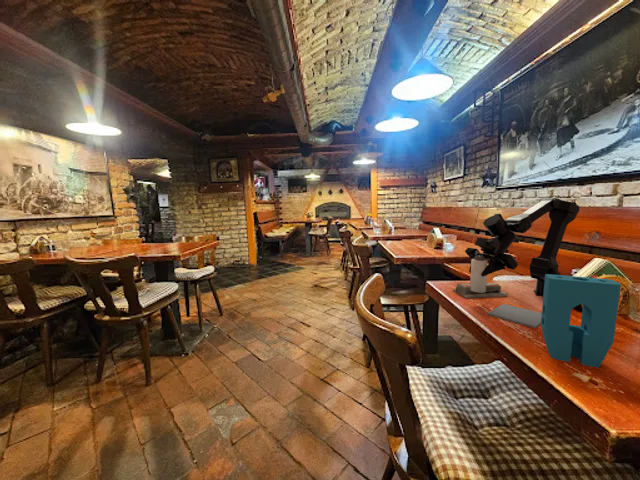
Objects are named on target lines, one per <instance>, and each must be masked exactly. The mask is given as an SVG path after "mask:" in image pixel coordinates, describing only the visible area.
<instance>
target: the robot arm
mask: <svg viewBox="0 0 640 480" xmlns="http://www.w3.org/2000/svg"><path fill="white" fill-rule="evenodd" d="M579 212H580V206H579V205H578V204H577V202H574V201H568V200H563V199H559V198H556V197H546V198H542V199H541V200H540V201H539V202H537V203H536V204H535V205H533V206H532V207H530V208H528V209H527V210H525V211H524V212H522V213H520V214H516V215H512V216H510V217H507V218H506V219H504V217H503V215H502V214H501V213H495V214H494V215H491V216H489V217H487V218H485V219H484V221H483V222H482V223H483V224H482V225H483V226H484V227H485V228H486V229H487V231H488V232H489V233H490V234H491V235H492V236H493V237H490V238H486V237H480V236H479V237H477V238H476V239H475V240H476V241H475V243H474V246H477V247H479V248H480V250H479V249H478V248H475V247H467V248H466V249H465V250H464V252H465V254H466V255H467V256H468V257H469V259H475V256H476V255H481V256H484V259H485V260H489V261H488V262H489V263H487V267H486V268H485V269H484V271H483V272H482V274H481V276H483V277H484V276H486V275H487V276H489V275H490V274H493V273H496V272H498V271H501V270H506V269H508V270H511V271H512V270H514V271H515V270H516V269H517V267H518V261H517V260H516V259H515V257H514V256H513V255H512V254H510V253H509V250H508V249H509V248H510V247H511V245H512V244H514V243H516V244H519V243H520V239H519V235H516V234H525V233H527V232H528V231H529V229H531V228H532V226H533V223H534V222H535V221H537V220H538V219H540V218H541V217H543V216H545V215H546V214H548V218H549V219H550V225H549V227H548V231H547V234H546V236H545V239H544V243H543V245H542V248H541V251H540V254H539V255H538V256H537V257H532V259H531V262H530V264H529V265H528V266H529V273H530V278H531V279H535V280H536V284H535V287H536V288H535V289H533V293H534V294H535V295H536V296H541V297H543V294H544V283H545V274H552V275H562V274H561V273H560V272H559V263H558V261H557V256H558V253H559V250H560V247H561V245H562V242H563V239H564V236H565V233H566V229H567V227H568V225H569V224H571V222H573V221H574V220H575V219H576V217H577V216H578V214H579ZM480 251H481V252H480ZM508 253H509V254H508ZM468 272H469V273H470V274H471V265H470V266H469V269H468Z"/></svg>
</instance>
